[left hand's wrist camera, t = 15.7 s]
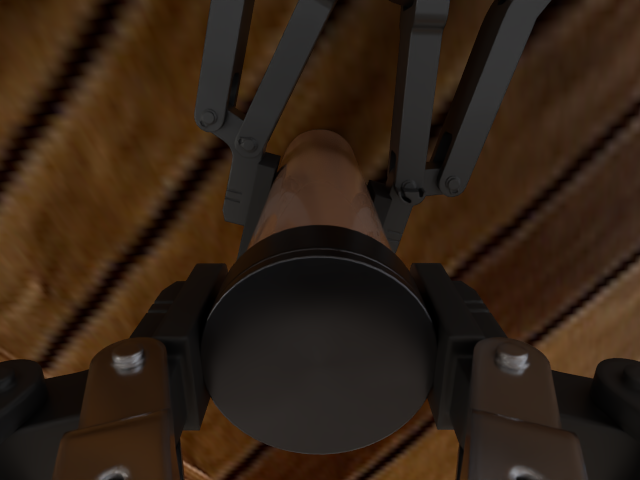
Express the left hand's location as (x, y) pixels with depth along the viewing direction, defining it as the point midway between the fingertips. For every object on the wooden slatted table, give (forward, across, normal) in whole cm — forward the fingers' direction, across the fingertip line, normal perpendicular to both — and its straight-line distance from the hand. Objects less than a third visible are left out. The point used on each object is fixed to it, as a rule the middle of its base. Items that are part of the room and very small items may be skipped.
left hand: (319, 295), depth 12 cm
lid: (-3, 0, 0) cm, 3 cm away
